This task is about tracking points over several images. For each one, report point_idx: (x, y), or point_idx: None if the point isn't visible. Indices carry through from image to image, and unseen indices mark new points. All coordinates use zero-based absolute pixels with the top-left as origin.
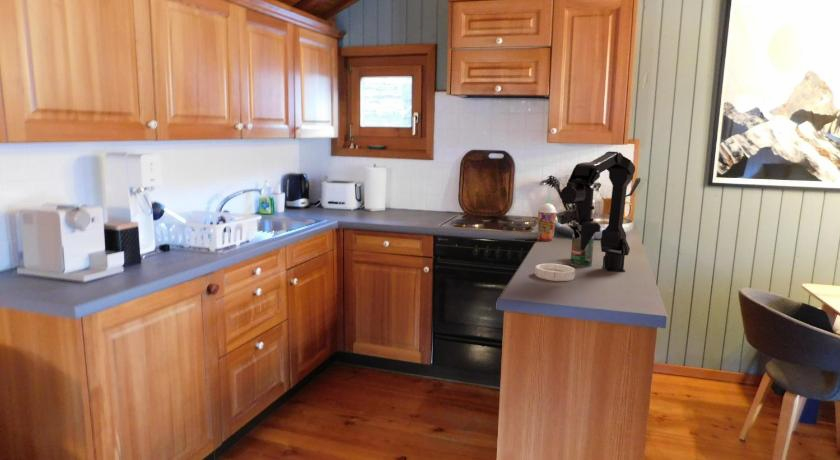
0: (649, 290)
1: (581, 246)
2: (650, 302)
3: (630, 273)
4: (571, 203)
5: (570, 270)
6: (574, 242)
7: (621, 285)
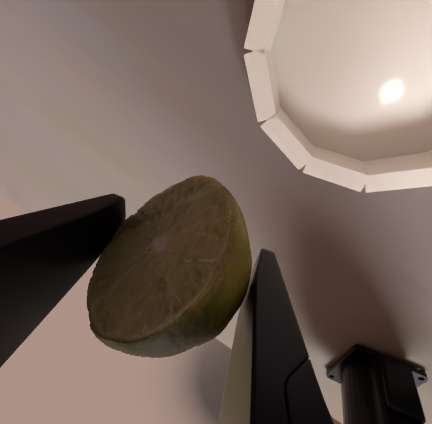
0: None
1: (74, 206)
2: (18, 197)
3: None
4: None
5: (349, 163)
6: (214, 244)
7: None
